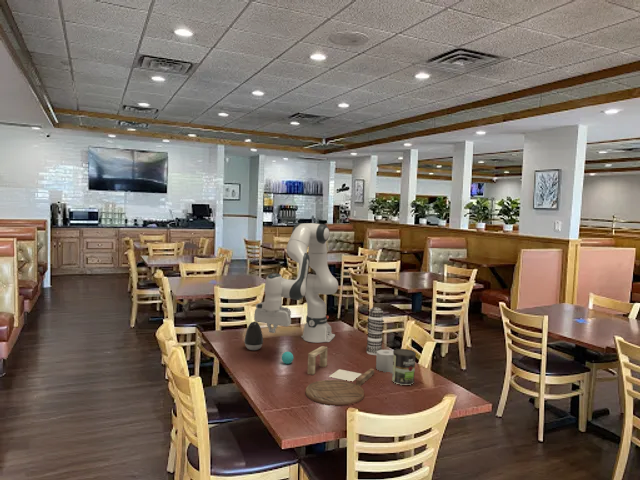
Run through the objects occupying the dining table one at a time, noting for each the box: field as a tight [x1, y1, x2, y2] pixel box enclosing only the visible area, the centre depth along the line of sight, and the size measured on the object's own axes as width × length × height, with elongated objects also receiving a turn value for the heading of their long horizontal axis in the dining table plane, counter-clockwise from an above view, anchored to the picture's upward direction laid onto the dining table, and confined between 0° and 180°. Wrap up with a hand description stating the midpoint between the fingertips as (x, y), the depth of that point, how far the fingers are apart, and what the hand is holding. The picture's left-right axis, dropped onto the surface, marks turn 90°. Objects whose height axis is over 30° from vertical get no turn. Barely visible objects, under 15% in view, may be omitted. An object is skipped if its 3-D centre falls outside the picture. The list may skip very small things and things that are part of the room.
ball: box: [281, 351, 294, 365], centre depth 241 cm, size 6×6×6 cm
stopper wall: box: [355, 368, 375, 387], centre depth 223 cm, size 18×2×2 cm, turn 154°
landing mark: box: [328, 368, 363, 383], centre depth 228 cm, size 12×12×1 cm
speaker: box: [243, 321, 264, 351], centre depth 263 cm, size 10×10×15 cm
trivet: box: [305, 379, 365, 407], centre depth 205 cm, size 25×25×2 cm
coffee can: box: [391, 348, 417, 386], centre depth 222 cm, size 10×10×14 cm
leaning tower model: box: [366, 306, 385, 356], centre depth 265 cm, size 9×9×25 cm
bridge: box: [306, 345, 329, 376], centre depth 234 cm, size 3×15×10 cm, turn 153°
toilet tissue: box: [375, 349, 394, 374], centre depth 238 cm, size 9×13×9 cm
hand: (272, 332), depth 245 cm, fingers closed
